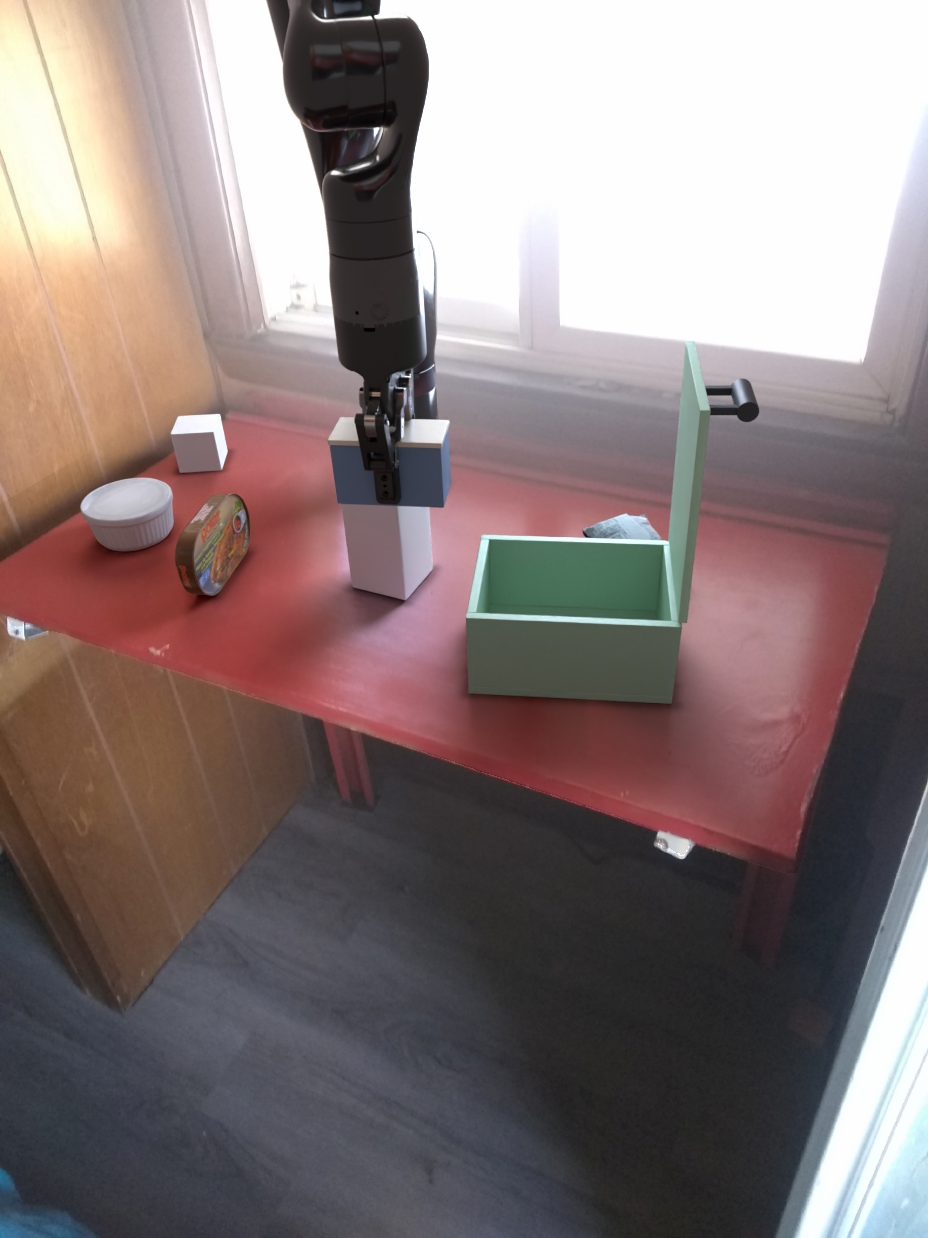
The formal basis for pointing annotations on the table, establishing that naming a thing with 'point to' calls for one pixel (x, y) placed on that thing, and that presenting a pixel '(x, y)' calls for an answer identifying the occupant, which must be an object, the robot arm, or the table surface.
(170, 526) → the ramekin
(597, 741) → the table surface
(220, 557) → the tin
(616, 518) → the packaged food
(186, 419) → the white cube
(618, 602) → the box
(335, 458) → the snack box
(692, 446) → the lid
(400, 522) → the milk carton
